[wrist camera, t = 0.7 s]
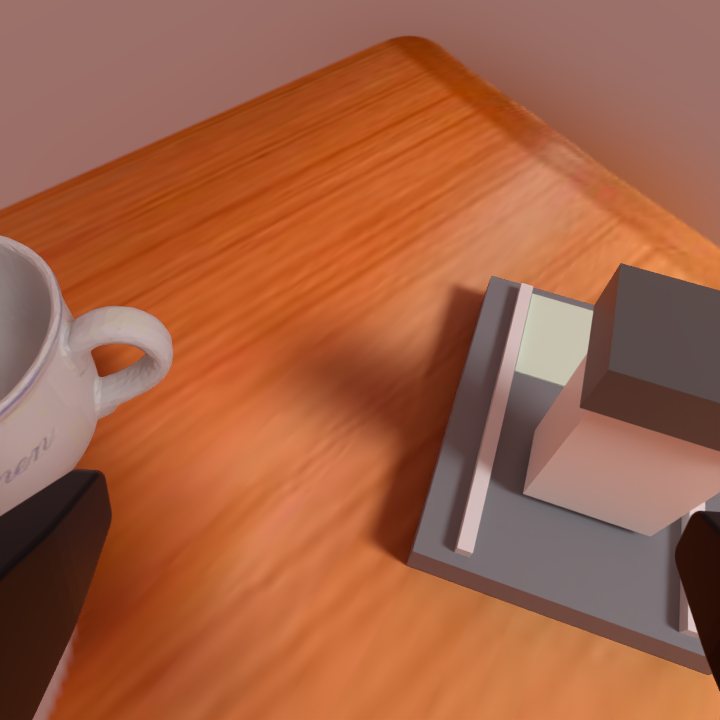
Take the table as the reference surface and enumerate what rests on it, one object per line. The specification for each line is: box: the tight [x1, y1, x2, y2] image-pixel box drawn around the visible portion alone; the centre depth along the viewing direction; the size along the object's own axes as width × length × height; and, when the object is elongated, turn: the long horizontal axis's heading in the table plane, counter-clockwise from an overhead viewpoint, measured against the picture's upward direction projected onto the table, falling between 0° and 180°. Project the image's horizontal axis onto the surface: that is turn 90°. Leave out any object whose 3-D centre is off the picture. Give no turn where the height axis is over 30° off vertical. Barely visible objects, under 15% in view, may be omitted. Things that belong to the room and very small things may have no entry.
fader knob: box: [523, 263, 720, 537], centre depth 20 cm, size 4×6×10 cm, turn 71°
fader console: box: [406, 276, 720, 675], centre depth 26 cm, size 15×12×3 cm
